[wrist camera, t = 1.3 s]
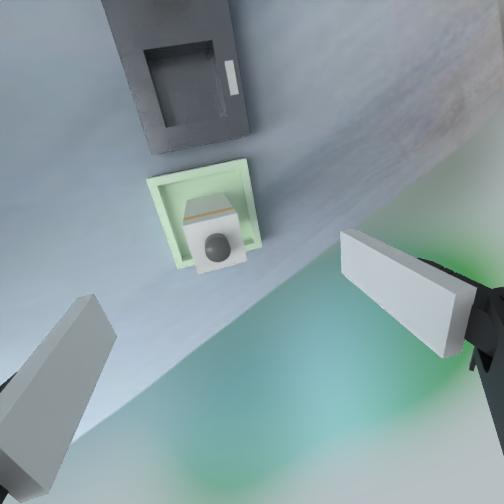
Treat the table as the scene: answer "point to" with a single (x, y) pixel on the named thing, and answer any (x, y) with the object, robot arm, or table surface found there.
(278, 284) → the table surface
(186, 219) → the plug
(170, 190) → the tray
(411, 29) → the table surface
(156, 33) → the grey slotted holder
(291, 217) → the table surface
